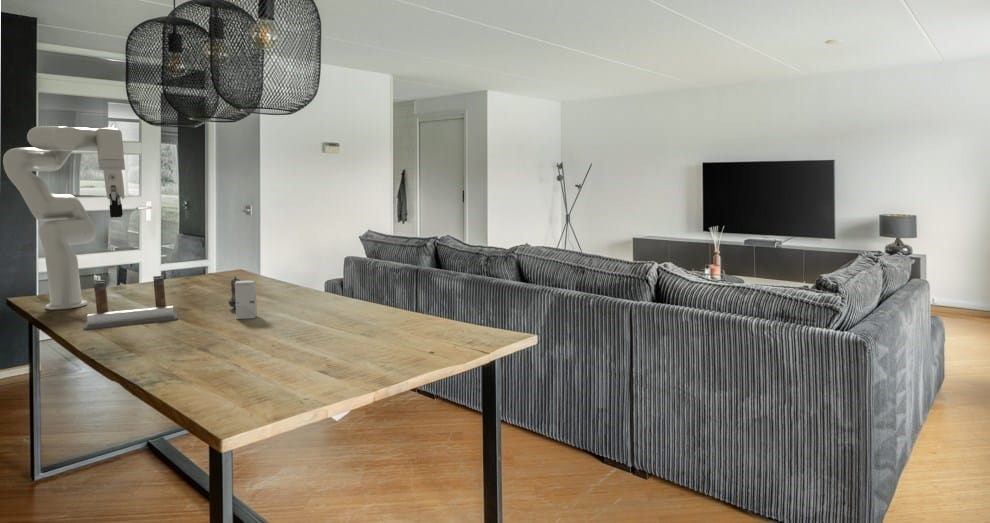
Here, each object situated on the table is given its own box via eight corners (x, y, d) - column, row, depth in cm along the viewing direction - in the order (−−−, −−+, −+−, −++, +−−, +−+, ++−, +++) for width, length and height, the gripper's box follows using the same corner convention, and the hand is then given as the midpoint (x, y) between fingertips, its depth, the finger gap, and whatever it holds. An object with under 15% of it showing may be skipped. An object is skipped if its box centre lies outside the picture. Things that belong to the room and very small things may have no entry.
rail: (87, 325, 195) (86, 316, 195) (88, 323, 198) (87, 314, 198) (173, 316, 207) (173, 307, 206) (173, 314, 209) (172, 305, 209)
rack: (97, 321, 204) (93, 283, 202) (98, 317, 209) (95, 280, 207) (166, 313, 213) (163, 277, 212) (166, 310, 218) (163, 275, 217)
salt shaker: (242, 311, 215) (239, 277, 214) (225, 311, 215) (222, 277, 214) (249, 308, 221) (247, 274, 219) (232, 308, 221) (230, 274, 220)
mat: (83, 330, 192) (83, 328, 192) (86, 323, 201) (86, 321, 201) (177, 319, 204) (177, 317, 204) (176, 314, 213) (176, 312, 213)
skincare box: (235, 319, 204) (233, 282, 202) (238, 316, 208) (235, 280, 206) (256, 318, 205) (253, 282, 203) (257, 315, 209) (255, 279, 208)
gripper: (124, 165, 204) (128, 217, 207) (125, 166, 219) (130, 214, 222) (96, 165, 201) (102, 218, 203) (100, 166, 216) (105, 215, 218)
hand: (116, 216), depth 212 cm, fingers open, 9 cm apart
